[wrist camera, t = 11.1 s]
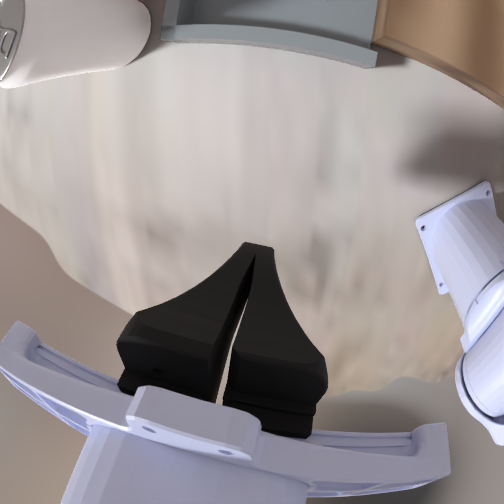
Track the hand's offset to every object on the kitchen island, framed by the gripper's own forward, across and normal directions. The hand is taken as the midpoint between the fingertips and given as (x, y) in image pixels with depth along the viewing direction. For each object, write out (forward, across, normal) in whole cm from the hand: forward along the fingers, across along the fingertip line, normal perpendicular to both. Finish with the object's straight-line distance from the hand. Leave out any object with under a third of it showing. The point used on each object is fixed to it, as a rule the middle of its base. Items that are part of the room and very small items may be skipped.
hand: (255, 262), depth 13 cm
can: (+10, +14, -11) cm, 21 cm away
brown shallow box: (+10, -11, -17) cm, 22 cm away
